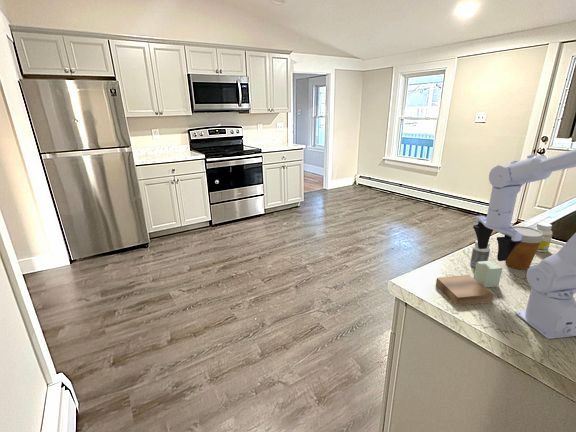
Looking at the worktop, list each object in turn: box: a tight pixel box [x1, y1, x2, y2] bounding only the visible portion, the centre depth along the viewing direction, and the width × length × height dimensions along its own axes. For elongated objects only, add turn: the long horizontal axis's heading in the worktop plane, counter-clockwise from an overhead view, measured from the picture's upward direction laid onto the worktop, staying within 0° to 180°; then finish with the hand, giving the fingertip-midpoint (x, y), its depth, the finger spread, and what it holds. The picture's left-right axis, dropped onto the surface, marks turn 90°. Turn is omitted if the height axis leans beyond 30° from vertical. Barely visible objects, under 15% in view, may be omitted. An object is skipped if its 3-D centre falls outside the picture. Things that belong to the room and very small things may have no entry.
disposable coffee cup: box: [505, 225, 544, 270], centre depth 97 cm, size 10×10×12 cm
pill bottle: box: [469, 239, 491, 268], centre depth 99 cm, size 5×5×8 cm
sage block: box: [473, 260, 503, 288], centre depth 89 cm, size 4×4×6 cm
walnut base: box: [435, 274, 495, 306], centre depth 85 cm, size 10×10×2 cm
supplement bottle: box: [534, 221, 553, 253], centre depth 107 cm, size 5×5×10 cm
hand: (491, 254), depth 87 cm, fingers open, 7 cm apart
